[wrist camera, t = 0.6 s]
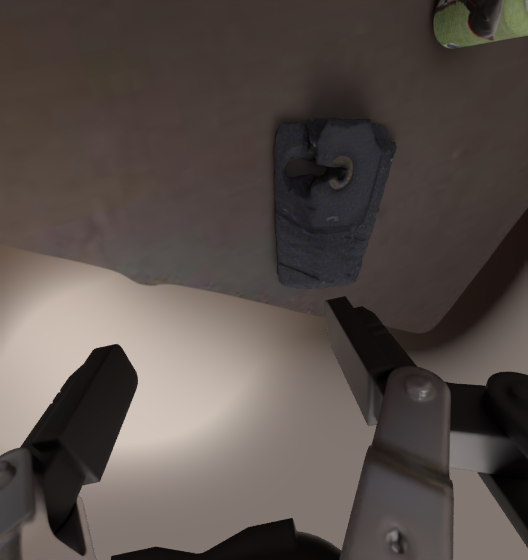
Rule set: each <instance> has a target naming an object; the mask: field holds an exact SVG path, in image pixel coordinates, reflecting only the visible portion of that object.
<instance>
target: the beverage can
mask: <svg viewBox="0 0 528 560" xmlns="http://www.w3.org/2000/svg"><path fill="white" fill-rule="evenodd" d="M433 27H434V33H435V37H436V39H437V41H438V42H439V43H440V44H441V45H442V46H444V47H446V48H449V49H455V48H461V47H466V46H472V45H477V44H483V43H488V42H494V41H499V40H505V39H510V38H516V37H521V36H527V35H528V0H438V3H437V6H436V9H435V13H434V20H433Z"/></svg>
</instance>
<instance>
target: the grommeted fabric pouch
mask: <svg viewBox="0 0 528 560" xmlns="http://www.w3.org/2000/svg"><path fill="white" fill-rule="evenodd" d="M304 128H305V129H304ZM387 135H388V130H387V129H385V128H384V127H382V126H376V125H375V124H371V120H370V119H357V120H341V119H336V118H315V119H314V120H313V121H311V120H307V122H306V126H305V125H303V124H302V123H300V122H297V123H296V124H291V123H288V124H281V125H280V127H279V129H278V131H277V133H276V136H275V139H276V145H275V150H274V155H275V192H276V194H275V201H276V210H277V212H276V214H275V218H276V226H275V231H276V238H277V239H278V241H277V249H278V252H277V255H278V267H277V274H278V276H279V282H280V283H281V284H282V285H284V286H287V287H294V288H306V289H312V288H327V287H332V286H336V285H338V286H340V285H346V284H348V283H351V282H355V280H356V279H357V276H358V272H359V270H360V268H361V264H362V257H363V255H364V253H365V249H366V248H367V245H368V240H369V238H370V235H371V232H372V230H373V227H374V223H375V219H376V214H377V212H378V211H379V205H380V202H381V198H382V196H383V192H384V188H385V184H386V181H387V178H388V175H389V170H390V166H391V163H392V160H393V157H394V153H395V151H396V143H395V142H390V141H389V140H388V138H387ZM292 158H297V159H299V158H306V159H308V160H310V161H313V160H315V161H316V163H317V164H318V165H321V166H327V167H328V169H327V171H326V172H325V174H324V175H322V176H320V177H317V176H315V175H305V176H299V177H295V178H289V177H288V176H287V174H286V173H285V166H286V164H287V162H288V161H289V160H290V159H292Z"/></svg>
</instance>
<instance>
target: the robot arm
mask: <svg viewBox="0 0 528 560" xmlns="http://www.w3.org/2000/svg"><path fill="white" fill-rule="evenodd" d="M325 314H326V325H327V334H328V339H329V342H330V345H331V348H332V350H333V352H334V354H335V356H336V359H337V360H338V363H339V365H340V367H341V369H342V371H343V373H344V376H345V378H346V380H347V382H348V384H349V386H350V388H351V391H352V393H353V395H354V397H355V399H356V401H357V404H358V405H359V408H360V410H361V412H362V414H363V416H364V419H365V421H366V423H367V425H368V426H372V425H377V426H376V431H375V434H374V439H373V442H372V445H371V446H369V448H368V450H367V453H366V457H365V460H364V464H363V468H362V472H361V476H360V480H359V484H358V488H357V492H356V496H355V500H354V504H353V508H352V511H351V515H350V520H349V523H348V528H347V531H346V535H345V539H344V543H343V547H342V551H341V550H340V549H338V548H337V547H335V546H334V545H332V544H331V543H330V542H328V541H326V540H324V539H322V538H320V537H318V536H314V535H312V534H308V533H304V532H298V531H296V528H295V524H294V521H293V519H292V518H290V519H285V520H280V521H276V522H271V523H266V524H261V525H256V526H252V527H248V528H246V529H244V530H242V531H241V532H239V533H238V534H235V535H234V536H232V537H230V538H229V539H227V540H225V541H223V542H222V543H220V544H218V545H216V546H214V547H213V548H211V549H210V550H207V551H206V552H204V553H200V554H195V553H190V552H184V551H178V550H172V549H166V548H161V547H152V548H148V549H143V550H138V551H133V552H128V553H124V554H119V555H114V556H112V557H111V560H453V505H454V503H453V502H454V501H453V500H454V498H453V484H452V480H450V477H449V468H455V469H462V470H468V471H475V472H477V473H478V474H479V476H480V477H481V479H482V480H483V482H484V483H485V484H486V486H487V487H488V489H489V491H490V492H491V494H492V495H493V497H494V498H495V499H496V501H497V502H498V504H499V506H500V507H501V508H502V510H503V512H504V513H505V514H506V516H507V517H508V519H509V520H510V522H511V523H512V525H513V526H514V528H515V529H516V531H517V532H518V534H519V535H520V537H521V538H522V540H523V541H524V543H525V544H526V546H527V547H528V375H525V374H521V373H516V372H499V373H496V374H494V375H492V376H491V377H490V378H489V379H488V381H487V384H486V386H482V385H468V384H455V383H448V382H444V381H443V380H442V379H441V378H440V377H439V376H437V375H436V374H434V373H433V372H430V371H429V370H426V369H423V368H420V367H417V366H416V365H415V364H414V362H413V361H412V360H411V358H410V357H409V356H408V355H407V353H406V352H405V351H404V350H403V348H401V346H400V345H399V344H398V342H397V341H396V340H395V339H394V338H393V336H392V335H391V334H390V333H389V332H388V330H387V329H386V327H385V326H384V325H382V322H381V321H380V320H379V319H378V317H377V316H376V315H375V314H374V313H373V312H371V311H369V310H368V309H366V308H364V307H362V306H361V307H357V308H353V306H352V305H351V303H350V302H349V301H348V299H347V298H346V297H345V296H344V297H339V298H334V299H330V300H325ZM137 384H138V377H137V373H136V371H135V369H134V368H133V366H132V364H131V362H130V361H129V359H128V357H127V356H126V354H125V352H124V351H123V349H122V348H121V346H120V345H118V344H114V345H109V346H105V347H100V348H96V349H94V350H93V351H92V353H91V354H90V355H89V357H88V358H87V360H86V361H85V363H84V364H83V365H82V366H81V367H80V368H79V369H78V370H76V371H75V372H74V373H73V374H72V375H71V376H70V377H69V378H68V380H67V381H66V383H65V384H64V385H63V387H62V388H61V390H60V392H59V393H58V394H57V395H56V397H55V398H54V400H53V403H52V404H50V405H49V407H48V408H47V410H46V411H45V412H44V414H43V415H42V417H41V418H40V420H39V421H38V423H37V424H36V425H35V427H34V428H33V430H32V431H31V433H30V434H29V435H28V437H27V438H26V440H25V441H24V443H23V444H22V445H21V447H20V448H16V449H13V450H10V451H8V452H6V453H4V454H3V455H1V456H0V560H97V559H96V556H95V552H94V548H93V543H92V540H91V534H90V530H89V526H88V521H87V517H86V513H85V508H84V503H83V500H82V498H81V497H80V496H79V495H78V494H79V492H80V490H81V487H82V485H86V484H91V483H96V482H100V480H101V477H102V475H103V472H104V470H105V467H106V465H107V462H108V460H109V457H110V455H111V452H112V450H113V447H114V444H115V442H116V439H117V437H118V434H119V432H120V429H121V427H122V424H123V422H124V419H125V417H126V414H127V411H128V409H129V406H130V404H131V401H132V399H133V396H134V394H135V391H136V388H137Z"/></svg>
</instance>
